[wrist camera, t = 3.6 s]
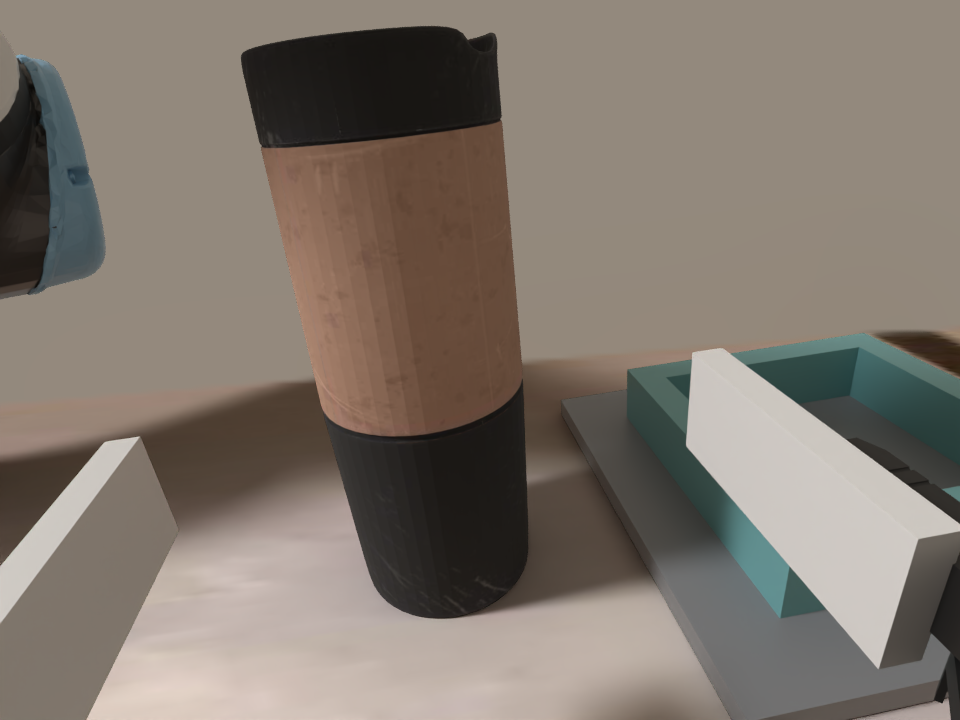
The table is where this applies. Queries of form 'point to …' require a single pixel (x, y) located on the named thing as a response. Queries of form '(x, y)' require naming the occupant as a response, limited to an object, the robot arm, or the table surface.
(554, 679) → the table surface
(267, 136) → the travel mug
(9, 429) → the table surface
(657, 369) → the mug dock
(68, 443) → the table surface
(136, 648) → the table surface
